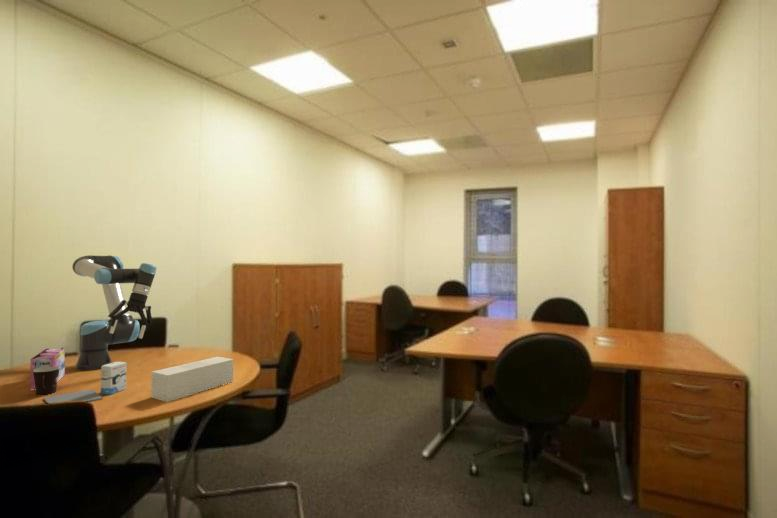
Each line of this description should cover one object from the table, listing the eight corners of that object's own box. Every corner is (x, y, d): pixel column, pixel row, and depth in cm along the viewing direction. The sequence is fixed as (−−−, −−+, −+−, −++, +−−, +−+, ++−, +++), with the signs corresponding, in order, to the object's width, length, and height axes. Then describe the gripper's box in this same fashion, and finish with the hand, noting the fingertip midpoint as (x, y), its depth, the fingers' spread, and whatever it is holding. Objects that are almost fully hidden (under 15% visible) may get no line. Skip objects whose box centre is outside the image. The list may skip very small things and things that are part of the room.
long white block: (167, 402, 166) (167, 375, 166) (151, 398, 172) (151, 371, 172) (233, 382, 194) (233, 359, 194) (217, 379, 199) (217, 356, 199)
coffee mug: (42, 390, 179) (43, 366, 179) (64, 389, 180) (64, 366, 180) (21, 399, 168) (21, 374, 168) (44, 398, 168) (44, 373, 168)
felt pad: (44, 399, 168) (44, 397, 168) (92, 390, 179) (92, 389, 179) (52, 409, 157) (52, 407, 157) (102, 399, 169) (102, 397, 169)
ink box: (110, 395, 174) (110, 366, 174) (100, 394, 175) (100, 365, 175) (126, 389, 182) (127, 361, 182) (117, 388, 183) (117, 361, 183)
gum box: (45, 376, 200) (45, 348, 200) (66, 374, 204) (66, 346, 204) (29, 390, 179) (29, 358, 179) (52, 388, 182) (53, 357, 182)
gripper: (117, 287, 200) (101, 331, 194) (167, 299, 219) (154, 340, 213) (110, 287, 205) (95, 330, 199) (160, 299, 224) (147, 339, 218)
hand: (126, 336), depth 206 cm, fingers open, 13 cm apart
